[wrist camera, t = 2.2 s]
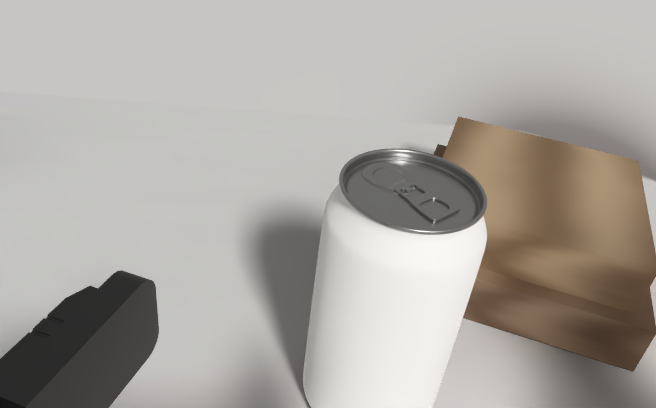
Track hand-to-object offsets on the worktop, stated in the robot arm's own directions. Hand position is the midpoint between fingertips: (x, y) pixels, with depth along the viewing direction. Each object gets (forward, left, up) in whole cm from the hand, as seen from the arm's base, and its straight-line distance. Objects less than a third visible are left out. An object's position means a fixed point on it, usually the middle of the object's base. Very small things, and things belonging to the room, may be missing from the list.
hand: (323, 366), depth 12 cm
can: (0, +11, -14) cm, 18 cm away
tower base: (+6, +25, -14) cm, 30 cm away
